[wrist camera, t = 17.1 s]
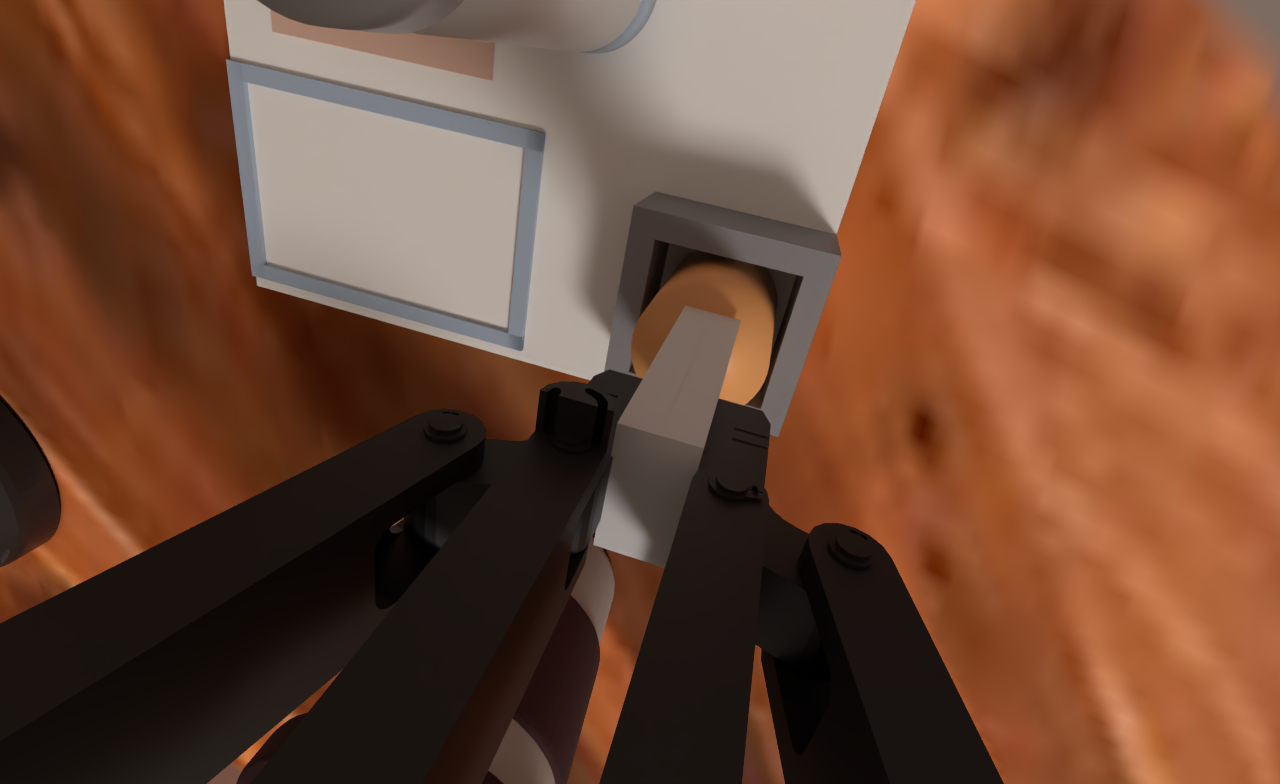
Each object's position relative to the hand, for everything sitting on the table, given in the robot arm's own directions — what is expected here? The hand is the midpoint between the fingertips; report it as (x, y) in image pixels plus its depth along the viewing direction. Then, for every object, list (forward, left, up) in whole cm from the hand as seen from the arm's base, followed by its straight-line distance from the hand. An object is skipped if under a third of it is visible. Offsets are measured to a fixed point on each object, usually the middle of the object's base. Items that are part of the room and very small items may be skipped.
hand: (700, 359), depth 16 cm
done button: (0, 0, -5) cm, 5 cm away
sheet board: (-8, +3, -6) cm, 11 cm away
